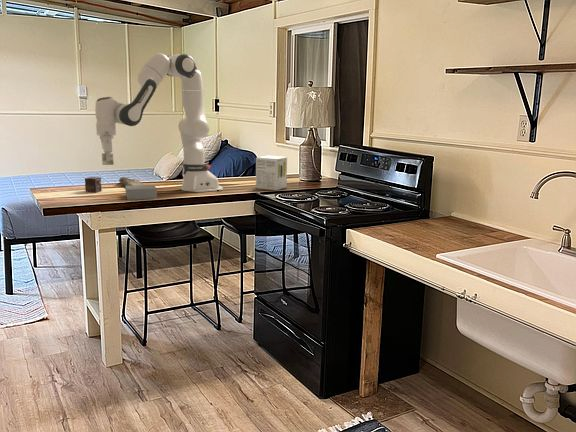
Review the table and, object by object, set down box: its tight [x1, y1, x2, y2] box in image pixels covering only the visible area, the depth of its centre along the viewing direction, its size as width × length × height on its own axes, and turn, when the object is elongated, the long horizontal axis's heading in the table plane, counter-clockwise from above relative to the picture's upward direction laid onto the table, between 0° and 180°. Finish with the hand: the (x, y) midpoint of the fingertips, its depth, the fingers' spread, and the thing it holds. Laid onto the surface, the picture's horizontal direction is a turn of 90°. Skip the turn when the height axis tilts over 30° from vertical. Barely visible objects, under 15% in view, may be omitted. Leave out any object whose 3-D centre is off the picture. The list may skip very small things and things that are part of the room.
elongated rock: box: [118, 176, 146, 187], centre depth 310 cm, size 35×5×10 cm
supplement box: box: [255, 155, 288, 191], centre depth 315 cm, size 13×13×18 cm
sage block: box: [101, 152, 115, 166], centre depth 272 cm, size 5×5×5 cm
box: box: [84, 176, 103, 194], centre depth 293 cm, size 6×6×7 cm
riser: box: [124, 184, 158, 201], centre depth 281 cm, size 14×12×5 cm
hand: (107, 160), depth 272 cm, fingers closed on sage block, 5 cm apart
